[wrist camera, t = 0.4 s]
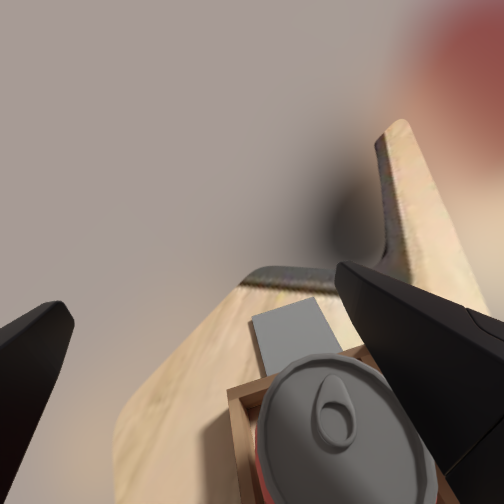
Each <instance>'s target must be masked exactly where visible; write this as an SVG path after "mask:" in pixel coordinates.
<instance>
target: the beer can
mask: <svg viewBox="0 0 504 504" xmlns="http://www.w3.org/2000/svg"><path fill="white" fill-rule="evenodd" d="M255 465H256V469H257V473H258V477H259V482H260V486H261V490H262V494H263V498H264V500H265V502H266V504H436V502H437V493H438V482H437V476H436V469H435V462H434V459H433V457H432V456H431V454H430V452H429V451H428V449H427V447H426V446H425V444H424V442H423V441H422V439H421V437H420V436H419V434H418V432H417V431H416V429H415V427H414V426H413V424H412V422H411V421H410V419H409V417H408V416H407V414H406V412H405V411H404V409H403V407H402V406H401V404H400V402H399V401H398V399H397V397H396V396H395V394H394V392H393V391H392V389H391V387H390V386H389V384H388V382H387V381H386V379H385V377H384V376H383V375H382V374H381V373H380V372H379V371H378V370H376V369H374V368H372V367H371V366H369V365H367V364H365V363H363V362H361V361H359V360H357V359H355V358H353V357H348V356H344V355H339V354H335V353H322V354H310V355H308V356H305V357H303V358H300V359H298V360H296V361H293V362H291V363H290V364H289V365H288V366H287V367H286V368H284V369H283V370H282V371H281V372H280V373H279V374H278V375H276V376H275V378H274V380H273V382H272V383H271V385H270V387H269V388H268V390H267V392H266V393H265V395H264V397H263V401H262V405H261V409H260V413H259V417H258V421H257V425H256V429H255Z"/></svg>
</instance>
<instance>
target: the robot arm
mask: <svg viewBox="0 0 504 504" xmlns="http://www.w3.org/2000/svg"><path fill="white" fill-rule="evenodd" d="M334 283H335V287H336V290H337V292H338V294H339V296H340V298H341V300H342V303H343V305H344V307H345V309H346V311H347V313H348V316H349V318H350V320H351V322H352V324H353V326H354V327H355V329H356V331H357V332H358V334H359V336H360V337H361V339H362V341H363V342H364V344H365V346H366V347H367V349H368V351H369V352H370V354H371V356H372V357H373V359H374V361H375V362H376V364H377V366H378V367H379V369H380V371H381V372H382V374H383V376H384V377H385V379H386V381H387V382H388V384H389V386H390V387H391V389H392V391H393V392H394V394H395V396H396V397H397V399H398V401H399V402H400V404H401V406H402V407H403V409H404V411H405V412H406V414H407V416H408V417H409V419H410V421H411V422H412V424H413V426H414V427H415V429H416V431H417V432H418V434H419V436H420V437H421V439H422V441H423V442H424V444H425V446H426V447H427V449H428V451H429V452H430V454H431V456H432V457H433V459H434V461H435V462H436V464H437V466H438V467H439V469H440V471H441V472H442V474H443V475H444V476H445V480H446V481H447V483H448V485H449V486H450V488H451V490H452V491H453V493H454V495H455V496H456V498H457V500H458V501H459V503H460V504H504V322H502V321H500V320H497V319H494V318H492V317H489V316H487V315H484V314H482V313H479V312H477V311H474V310H472V309H469V308H465V307H464V306H462V305H459V304H457V303H454V302H452V301H449V300H447V299H444V298H442V297H439V296H437V295H434V294H432V293H429V292H427V291H425V290H422V289H420V288H417V287H415V286H412V285H410V284H407V283H405V282H402V281H400V280H397V279H395V278H392V277H390V276H387V275H385V274H382V273H380V272H377V271H375V270H372V269H370V268H367V267H365V266H363V265H360V264H357V263H355V262H353V261H342V262H339V263H338V264H337V268H336V274H335V280H334ZM73 329H74V319H73V317H72V315H71V314H70V312H69V310H68V309H67V307H66V305H65V304H64V303H63V302H62V301H51V302H46V303H43V304H41V305H40V306H38V307H36V308H34V309H33V310H31V311H29V312H28V313H26V314H24V315H22V316H21V317H19V318H17V319H16V320H14V321H12V322H11V323H9V324H7V325H6V326H4V327H2V328H0V504H4V502H5V499H6V497H7V495H8V492H9V490H10V488H11V486H12V483H13V481H14V479H15V476H16V474H17V472H18V469H19V467H20V465H21V462H22V460H23V458H24V455H25V453H26V451H27V448H28V446H29V444H30V441H31V439H32V437H33V434H34V432H35V430H36V428H37V425H38V423H39V420H40V418H41V416H42V414H43V411H44V409H45V407H46V404H47V402H48V399H49V397H50V395H51V393H52V390H53V388H54V386H55V383H56V381H57V378H58V376H59V373H60V370H61V368H62V365H63V361H64V358H65V355H66V352H67V349H68V345H69V342H70V339H71V336H72V333H73Z"/></svg>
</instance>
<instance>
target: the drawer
mask: <svg viewBox="0 0 504 504" xmlns="http://www.w3.org/2000/svg"><path fill="white" fill-rule="evenodd" d="M337 354H339V355H344V356H348V357H353V358H355V359H357V360H359V361H361V362H363V363H365V364H367V365H369V366H371V367H372V368H374V369H376V370H378V371H379V372H380V373H381V374H382V372H381V371H380V369H379V367H378V366H377V364H376V362H375V361H374V359H373V357H372V356H371V354H370V352H369V351H368V349H367V347H366V346H365V345H361V346H358V347H355V348H352V349H349V350H346V351H343V352H340V353H337ZM279 373H280V372H279ZM279 373H276V374H273V375H270V376H267V377H264V378H261V379H258V380H255V381H252V382H249V383H246V384H243V385H240V386H237V387H234V388H231V389H228V390H227V397H228V405H229V413H230V420H231V428H232V435H233V443H234V450H235V458H236V465H237V473H238V481H239V488H240V496H241V503H242V504H264V498H263V494H262V490H261V486H260V482H259V477H258V473H257V469H256V465H255V449H254V444H253V438H252V433H251V427H250V422H249V416H248V411H247V409H249V408H252V407H255V406H258V405H261V404H262V401H263V397H264V395H265V393H266V392H267V390H268V388H269V387H270V385H271V383H272V382H273V380H274V378H275V376H276V375H278V374H279ZM382 375H383V374H382ZM434 462H435V461H434ZM435 469H436V476H437V482H438V493H437V502H436V504H460V503H459V501H458V500H457V498H456V496H455V495H454V493H453V491H452V490H451V488H450V486H449V485H448V483H447V481H446V480H445V476H444V475H443V474H442V472H441V471H440V469H439V467H438V466H437V464H436V462H435Z"/></svg>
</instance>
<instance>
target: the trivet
mask: <svg viewBox="0 0 504 504" xmlns="http://www.w3.org/2000/svg"><path fill="white" fill-rule="evenodd" d="M252 321H253V325H254V329H255V332H256V336H257V340H258V344H259V348H260V351H261V355H262V359H263V363H264V367H265V370H266V374H267V376H270V375H273V374H276V373H279V372H281V371H282V370H283V369H284V368H286V367H287V366H288V365H289V364H290V363H291V362H293V361H296V360H298V359H300V358H303V357H305V356H308V355H310V354H322V353H335V354H337V353H340V352H343V350H342V348H341V347H340V345H339V343H338V341H337V339H336V337H335V335H334V334H333V332H332V330H331V328H330V326H329V324H328V322H327V321H326V319H325V317H324V315H323V313H322V311H321V309H320V308H319V306H318V304H317V302H316V300H315V298H314V297H311V298H308V299H305V300H302V301H299V302H296V303H292V304H289V305H286V306H283V307H280V308H277V309H274V310H271V311H268V312H265V313H261V314H258V315H255V316H252Z"/></svg>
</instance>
